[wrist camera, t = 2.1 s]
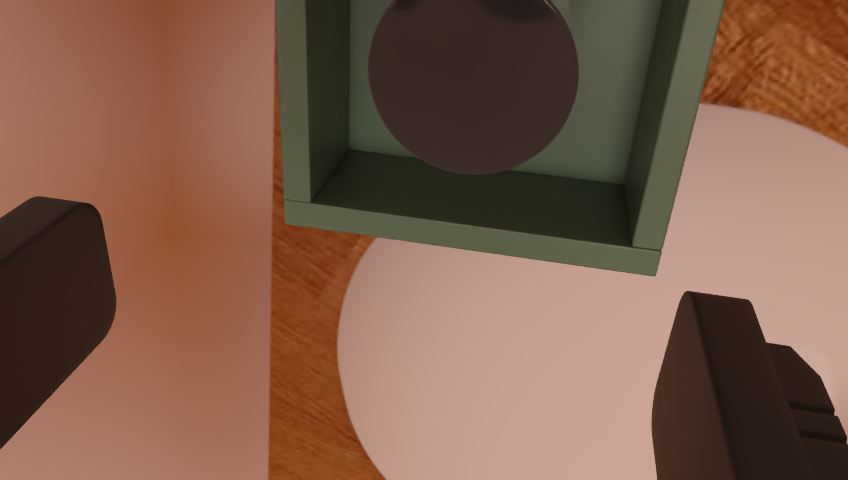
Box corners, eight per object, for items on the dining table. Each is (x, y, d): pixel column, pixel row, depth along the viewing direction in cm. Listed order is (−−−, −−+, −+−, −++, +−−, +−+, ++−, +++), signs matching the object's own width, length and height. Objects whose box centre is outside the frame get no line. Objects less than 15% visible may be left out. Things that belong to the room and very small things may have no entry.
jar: (426, -79, 25) (369, -44, 18) (591, -65, 24) (596, -23, 17) (418, 80, 28) (365, 162, 21) (566, 97, 27) (561, 187, 20)
